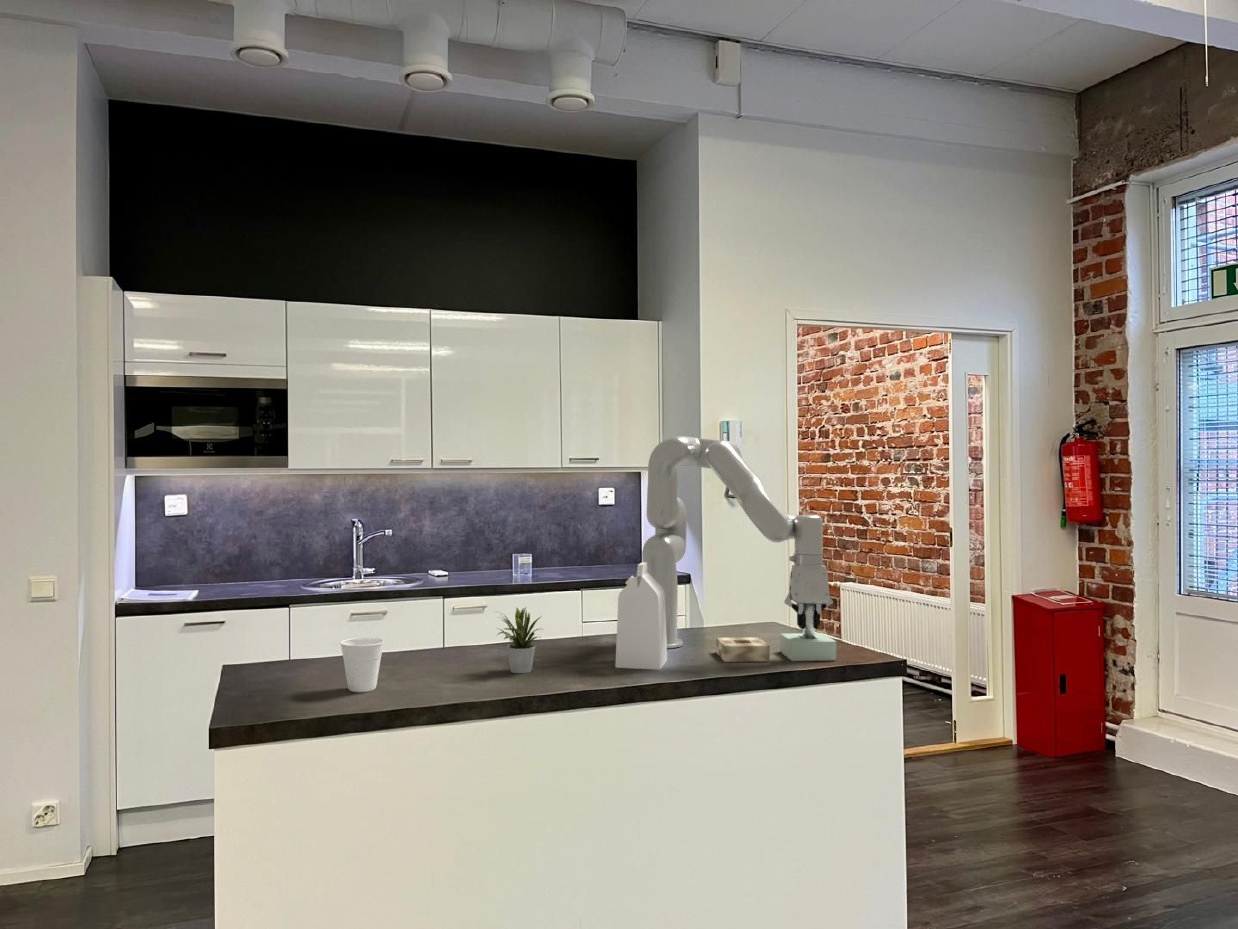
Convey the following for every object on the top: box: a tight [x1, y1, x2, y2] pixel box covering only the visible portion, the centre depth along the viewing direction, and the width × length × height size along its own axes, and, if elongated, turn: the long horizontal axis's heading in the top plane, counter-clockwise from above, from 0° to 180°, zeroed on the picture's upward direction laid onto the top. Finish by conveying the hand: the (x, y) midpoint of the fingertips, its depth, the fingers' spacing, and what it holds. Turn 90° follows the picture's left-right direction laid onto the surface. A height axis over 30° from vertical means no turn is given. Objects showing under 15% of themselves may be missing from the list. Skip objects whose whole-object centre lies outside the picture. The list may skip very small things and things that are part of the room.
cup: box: [339, 637, 386, 693], centre depth 220 cm, size 10×10×11 cm
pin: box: [802, 603, 816, 639], centre depth 260 cm, size 3×3×12 cm
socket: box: [779, 632, 837, 662], centre depth 260 cm, size 12×12×5 cm
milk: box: [614, 561, 668, 671], centre depth 249 cm, size 12×12×26 cm
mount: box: [715, 636, 771, 663], centre depth 259 cm, size 12×12×4 cm
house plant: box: [494, 607, 544, 674], centre depth 241 cm, size 14×14×16 cm
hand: (808, 627), depth 260 cm, fingers closed on pin, 3 cm apart
